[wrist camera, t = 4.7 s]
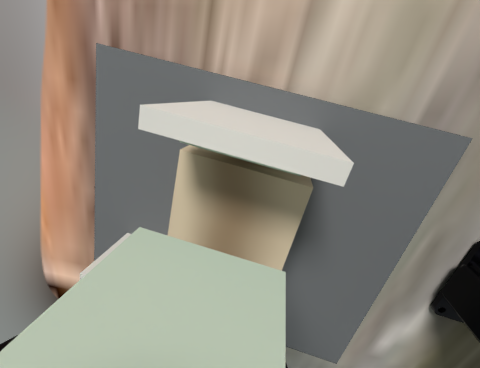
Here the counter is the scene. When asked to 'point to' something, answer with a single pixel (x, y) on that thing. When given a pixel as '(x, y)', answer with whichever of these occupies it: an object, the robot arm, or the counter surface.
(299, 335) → the mat
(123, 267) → the sage cube
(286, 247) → the oak base block
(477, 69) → the counter surface
